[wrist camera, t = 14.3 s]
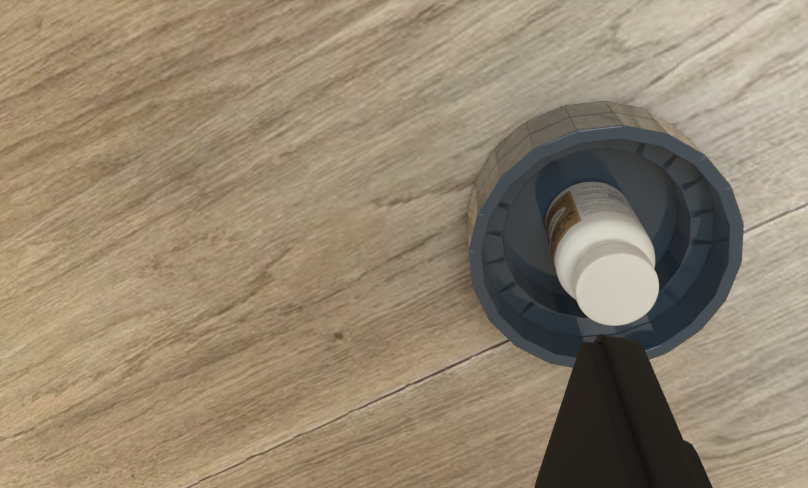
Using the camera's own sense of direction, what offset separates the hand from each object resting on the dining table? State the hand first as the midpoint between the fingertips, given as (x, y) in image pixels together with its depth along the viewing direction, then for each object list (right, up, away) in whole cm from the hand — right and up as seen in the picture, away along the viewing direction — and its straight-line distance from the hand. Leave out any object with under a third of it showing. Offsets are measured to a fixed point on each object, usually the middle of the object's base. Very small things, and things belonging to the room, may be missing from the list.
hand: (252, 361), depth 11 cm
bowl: (+12, +3, +28) cm, 30 cm away
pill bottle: (+12, +3, +27) cm, 30 cm away
